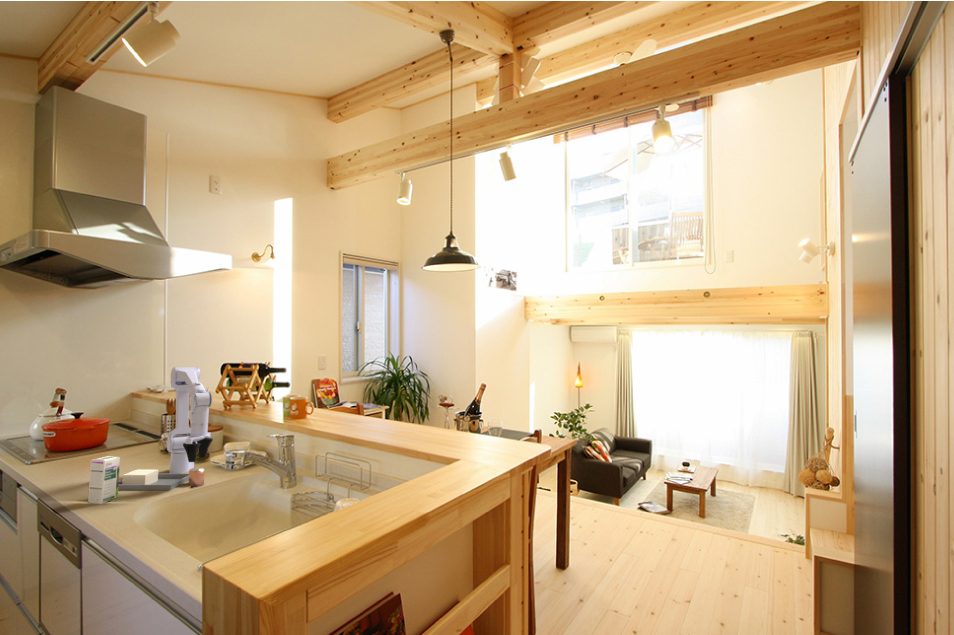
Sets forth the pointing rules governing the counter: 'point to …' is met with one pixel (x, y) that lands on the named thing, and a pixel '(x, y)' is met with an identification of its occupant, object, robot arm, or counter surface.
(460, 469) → the counter surface
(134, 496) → the counter surface
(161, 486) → the tray
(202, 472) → the tin can
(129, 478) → the plain cream box
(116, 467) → the syrup box
